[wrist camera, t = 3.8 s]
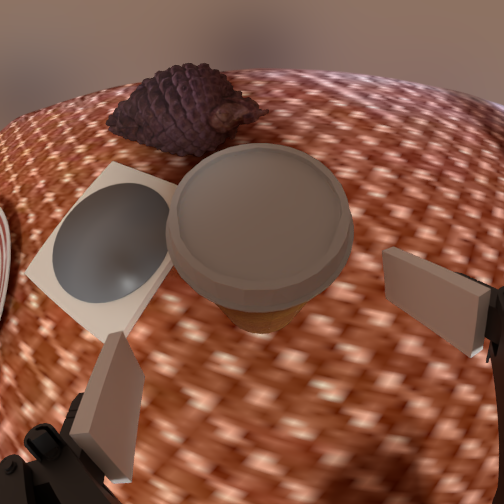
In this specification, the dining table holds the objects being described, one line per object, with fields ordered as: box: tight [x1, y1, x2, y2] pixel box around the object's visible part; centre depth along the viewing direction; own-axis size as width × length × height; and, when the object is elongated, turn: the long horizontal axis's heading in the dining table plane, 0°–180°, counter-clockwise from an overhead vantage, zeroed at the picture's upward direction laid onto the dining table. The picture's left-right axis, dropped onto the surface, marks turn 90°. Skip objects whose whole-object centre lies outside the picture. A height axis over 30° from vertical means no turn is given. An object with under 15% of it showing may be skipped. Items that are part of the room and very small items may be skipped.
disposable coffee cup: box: [166, 143, 354, 334], centre depth 20 cm, size 10×10×12 cm
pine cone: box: [106, 63, 269, 157], centre depth 30 cm, size 18×10×10 cm, turn 90°
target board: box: [25, 161, 178, 343], centre depth 27 cm, size 16×14×1 cm
